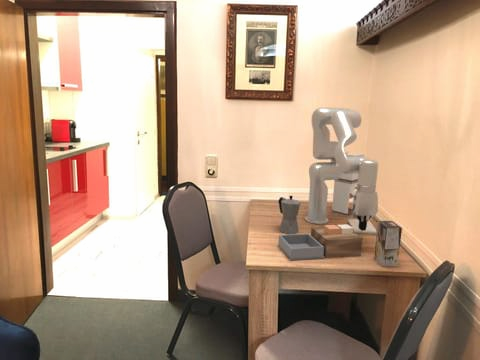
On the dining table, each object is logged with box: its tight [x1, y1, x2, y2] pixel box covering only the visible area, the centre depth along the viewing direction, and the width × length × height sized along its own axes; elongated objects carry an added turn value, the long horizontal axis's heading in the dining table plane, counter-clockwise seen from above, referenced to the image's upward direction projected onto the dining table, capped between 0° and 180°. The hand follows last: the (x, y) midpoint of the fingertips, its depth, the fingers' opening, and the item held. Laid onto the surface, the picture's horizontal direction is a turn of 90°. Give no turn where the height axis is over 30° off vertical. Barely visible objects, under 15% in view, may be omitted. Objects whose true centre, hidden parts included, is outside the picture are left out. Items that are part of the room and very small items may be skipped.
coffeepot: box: [278, 195, 301, 235], centre depth 189 cm, size 15×9×18 cm, turn 34°
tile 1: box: [323, 224, 340, 235], centre depth 165 cm, size 5×5×2 cm
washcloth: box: [347, 218, 377, 235], centre depth 197 cm, size 12×18×3 cm, turn 175°
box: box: [277, 233, 324, 262], centre depth 163 cm, size 16×14×5 cm
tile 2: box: [336, 223, 353, 234], centre depth 166 cm, size 5×5×2 cm
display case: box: [331, 151, 365, 219], centre depth 218 cm, size 11×11×35 cm
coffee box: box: [373, 220, 403, 267], centre depth 155 cm, size 9×6×16 cm
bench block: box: [310, 226, 363, 259], centre depth 167 cm, size 16×16×8 cm
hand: (362, 229), depth 168 cm, fingers closed
